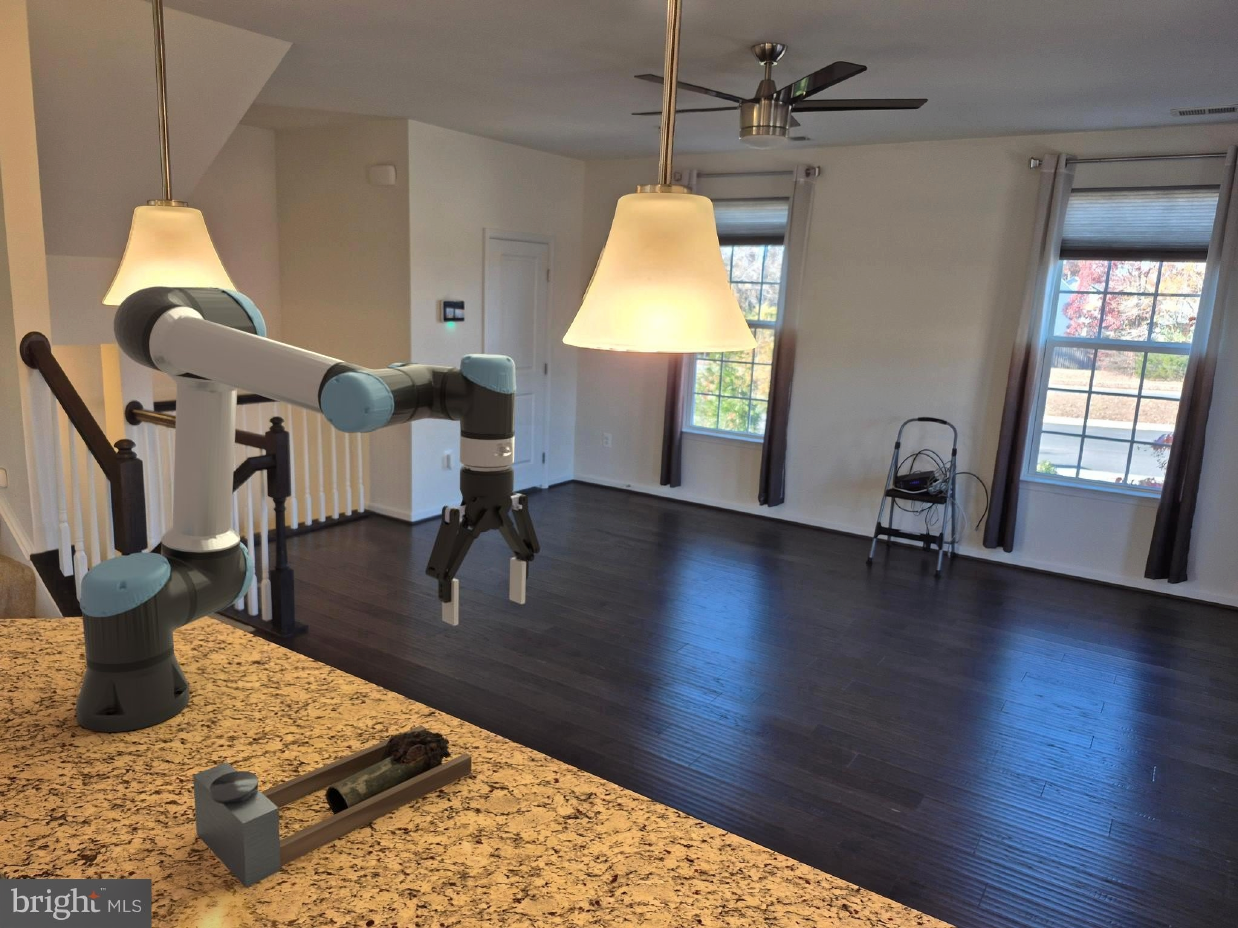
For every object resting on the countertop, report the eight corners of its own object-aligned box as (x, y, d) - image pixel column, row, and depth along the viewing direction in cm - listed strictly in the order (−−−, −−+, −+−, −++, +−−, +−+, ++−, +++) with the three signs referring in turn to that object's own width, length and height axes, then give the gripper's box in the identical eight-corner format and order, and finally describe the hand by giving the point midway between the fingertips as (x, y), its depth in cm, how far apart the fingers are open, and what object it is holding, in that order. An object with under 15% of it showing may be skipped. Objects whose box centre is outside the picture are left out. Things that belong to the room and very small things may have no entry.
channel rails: (232, 822, 103) (231, 804, 102) (421, 740, 124) (421, 724, 123) (278, 867, 95) (277, 848, 95) (471, 772, 116) (471, 756, 116)
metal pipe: (348, 827, 104) (347, 786, 102) (317, 806, 108) (315, 767, 106) (456, 767, 118) (455, 730, 116) (424, 750, 121) (424, 715, 120)
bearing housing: (192, 836, 100) (188, 768, 98) (234, 818, 104) (230, 752, 102) (241, 889, 92) (238, 817, 90) (284, 868, 95) (282, 797, 94)
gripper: (432, 481, 105) (431, 641, 110) (566, 460, 123) (562, 598, 127) (398, 471, 110) (399, 625, 114) (532, 452, 128) (529, 586, 132)
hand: (484, 611), depth 121 cm, fingers open, 12 cm apart
